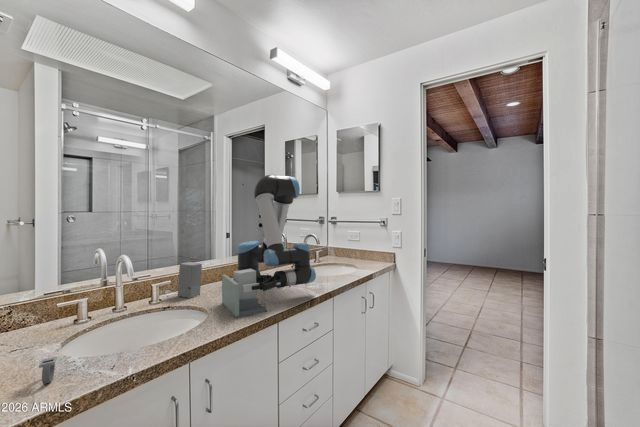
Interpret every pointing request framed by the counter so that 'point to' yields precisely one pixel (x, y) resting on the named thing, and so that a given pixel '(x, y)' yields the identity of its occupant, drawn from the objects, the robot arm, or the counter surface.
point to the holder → (232, 300)
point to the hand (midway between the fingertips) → (237, 285)
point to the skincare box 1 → (189, 279)
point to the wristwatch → (48, 369)
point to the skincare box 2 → (245, 283)
